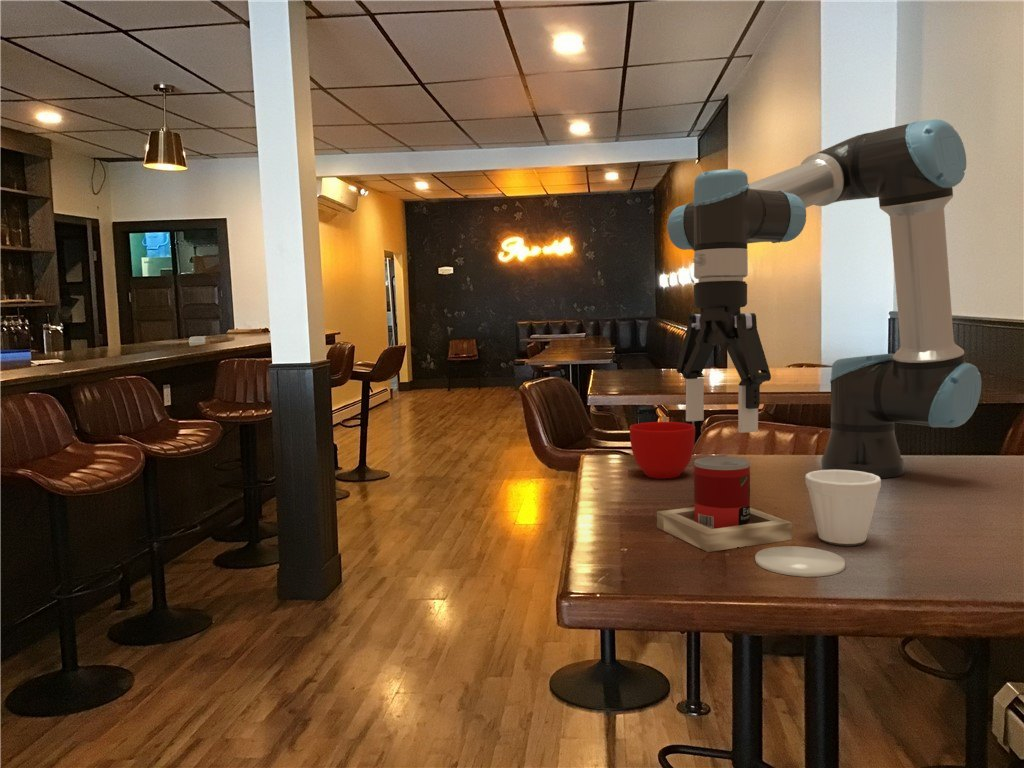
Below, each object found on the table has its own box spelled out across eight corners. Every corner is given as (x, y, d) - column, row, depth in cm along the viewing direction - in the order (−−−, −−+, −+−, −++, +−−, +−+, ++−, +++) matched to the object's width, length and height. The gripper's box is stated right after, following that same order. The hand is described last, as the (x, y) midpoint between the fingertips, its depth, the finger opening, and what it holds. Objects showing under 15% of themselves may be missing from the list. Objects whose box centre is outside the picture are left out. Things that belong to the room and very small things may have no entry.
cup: (874, 554, 108) (875, 486, 107) (797, 545, 113) (797, 480, 112) (885, 535, 116) (886, 472, 116) (812, 527, 122) (813, 467, 121)
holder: (734, 517, 129) (734, 501, 129) (792, 539, 116) (792, 522, 116) (656, 527, 124) (656, 511, 124) (707, 552, 111) (707, 534, 111)
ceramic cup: (711, 468, 168) (710, 421, 167) (681, 484, 154) (681, 432, 153) (652, 463, 175) (652, 418, 174) (619, 478, 161) (618, 429, 160)
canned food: (752, 541, 116) (752, 466, 115) (695, 540, 117) (694, 465, 116) (747, 527, 123) (747, 456, 122) (694, 526, 125) (693, 455, 124)
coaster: (805, 546, 112) (805, 542, 112) (864, 569, 102) (864, 564, 102) (738, 556, 109) (738, 552, 109) (792, 581, 98) (792, 576, 98)
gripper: (654, 284, 127) (655, 418, 129) (750, 275, 104) (750, 439, 106) (695, 284, 130) (695, 415, 131) (799, 275, 106) (797, 435, 108)
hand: (720, 426), depth 118 cm, fingers open, 13 cm apart
